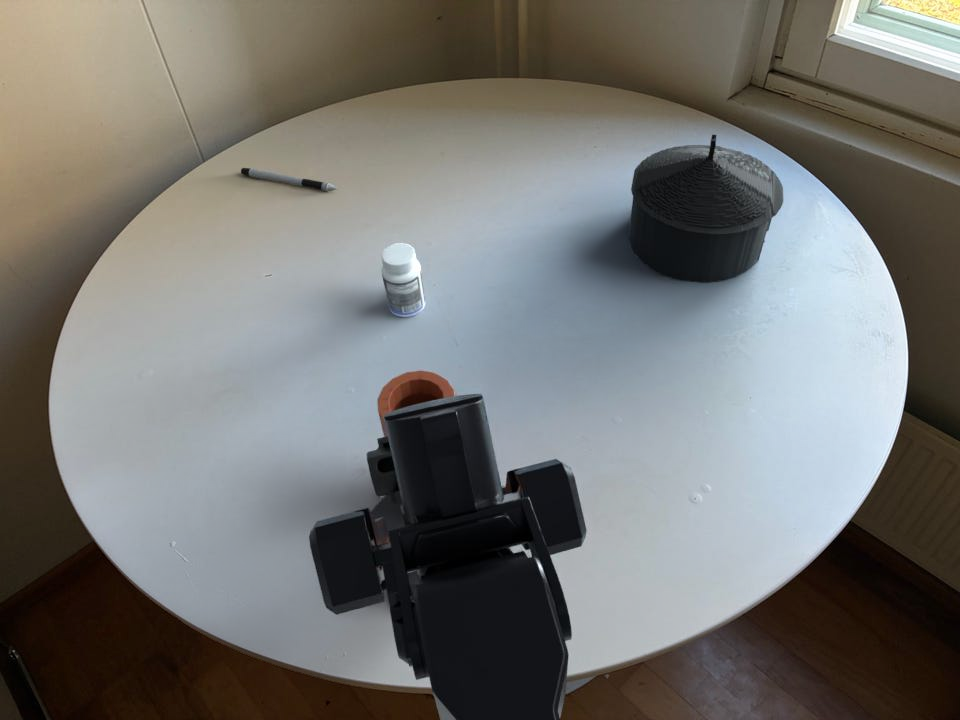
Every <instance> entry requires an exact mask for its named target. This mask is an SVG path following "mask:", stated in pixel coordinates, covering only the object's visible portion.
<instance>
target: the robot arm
mask: <svg viewBox="0 0 960 720" xmlns="http://www.w3.org/2000/svg"><path fill="white" fill-rule="evenodd" d="M384 421H385V426H386V430H387V435H388V436H385V437H384V436H382V437H378V438H376V440H377V444H378V447H377V448H376V449H374V450H369V451H367V452H366V454H365V455H366V462H367V466H368V467H367V468H368V470H369V475H370V480H371V483H372V487H373V490H374V493H375V496H376V497H378V498H380V497H385V496H386V495H389V496H390V497H391V500H392V504H393V505H396V504H400V503H401V504H402V505H400V506H401V511H402V515H403V519H404V523H405V526H402V527H398V528H394V529H390V530H388V531H387V526H386V522H385V518H384V517H381V518H378V519H375V520H374V518H373V516H372V514H371V510H370V508H369V507H365V508H362V509H358V510H354V511H350V512H346V513H342V514H339V515H335V516H331V517H327V518H323V519H321V520H316V521H315V522H314V525H313V526H312V528H311V529H310V532H309V536H308V539H309V540H308V542H309V547H310V551H311V556H312V560H313V563H314V568H315V572H316V576H317V580H318V585H319V588H320V592H321V596H322V600H323V604H324V606H325V608H326V609H327V610H328V611H329V612H332V613H333V614H334V615H336V616H337V615H341V614H344V613H348V612H352V611H356V610H359V609H363V608H367V607H371V606H374V605H378V604H380V603H384V602H385V595H384V590H386V595H387V600H388V608H389V613H390V614H389V615H390V619H391V625H392V630H393V636H394V637H393V638H394V643H395V647H396V653H397V656H398V659H400V660H401V661H403V662H404V663H405V664H408V666H409V667H410V668H411V667H412V670H413V674H414V678H415V680H416V681H418V680H422V679H426V678H429V682H430V688H431V691H432V694H433V698H434V702H435V706H436V709H437V712H438V716H439V720H561V716H562V711H563V707H564V702H565V698H566V695H567V694H566V693H567V680H568V668H569V667H568V666H569V650H568V646H567V641H571V640H572V636H573V633H572V631H573V630H572V624H571V618H570V613H569V609H568V604H567V600H566V597H565V594H564V591H563V587H562V584H561V582H560V578H559V576H558V573H557V569H556V568H555V564H554V562H553V560H552V559H553V558H552V555H556V554H560V553H563V552H567V551H570V550H573V549H577V548H580V547H582V546H583V544H584V541H585V540H586V537H587V531H588V530H587V526H586V520H585V517H584V512H583V509H582V504H581V499H580V495H579V490H578V487H577V486H578V485H577V481H576V477H575V475H574V472H573V470H572V467H570V466H569V465H567V464H565V463H564V462H562V461H561V460H559V459H557V458H553V459H550V460H546V461H542V462H539V463H534V464H530V465H527V466H523V467H519V468H515V469H511V470H508V471H507V472H506V479H505V485H502V481H501V477H500V472H499V466H498V462H497V458H496V457H497V456H496V453H495V448H494V443H493V438H492V433H491V428H490V422H489V418H488V413H487V408H486V403H485V400H484V395H483V394H482V393H469V394H462V395H461V394H460V395H455V396H454V397H448V398H442V399H437V400H432V401H428V402H424V403H419V404H415V405H411V406H408V407H404V408H401V409H397V410H394V411H392V412H389V413H387V414H385V415H384ZM388 533H389V536H388ZM389 538H390V542H389ZM520 545H521V547H522V548H523V549H524V550H525V551H530V555H531V556H529V557H528V555H527V553H526V552H525V551H524V550H521V551H516V552H513V550H512V547H516V546H520ZM415 571H417V575H418V580H419V585H416V586H415V588H414V590H413V595H414V601H413V598H412V593H411V588H410V583H409V578H408V573H411V572H415Z"/></svg>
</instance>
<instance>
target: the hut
mask: <svg viewBox="0 0 960 720" xmlns="http://www.w3.org/2000/svg"><path fill="white" fill-rule="evenodd" d="M716 143H717V134H711V138H710V143H709V145H708V144H706V145H705V144H687V145H679V146H673V147H669V148H666V149H662V150H659V151H656V152H654V153H652V154H650V155H649V156H647V157H646V158H645V159H643V160H642V161H641V162H640V163H639V164H638V165H637V166H636V167H635V169H634V172H633V177H632V182H631V189H630V191H631V195H632V203H631V210H630V211H631V212H630V222H629V230H628V243H629V245H630V248H631V251H632V252H633V254H634V255H635V256H636V258H637V259H638V260H639V261H640V262H642V263H643V264H644V265H645V266H646V267H647V268H649V269H650V270H652V271H655V272H656V273H657V274H659V275H662V276H665V277H668V278H670V279H673V280H678V281H680V282H681V281H682V282H692V283H702V284H703V283H704V284H705V283H717V282H723V281H728V280H730V279H734V278H736V277H738V276H740V275H742V274H744V273H746V272H748V271H749V270H750V269H751V268H752V267H754V266H755V264H756V263H757V261H759V260H760V257H761V253H762V250H763V248H764V247H763V246H764V243H765V242H766V241H765V240H766V237H767V232H768V231H769V230H770V227H771V223H772V219H773V218H774V217H776V215H778V213H779V211H780V210H781V208H782V206H783V204H784V187H783V184H782V182H781V180H780V178H779V177H778V176H777V174H776V172H775V171H774V170H772V169H771V168H770V166H768V165H767V164H766V163H764V162H763V161H762V160H760V159H758V158H757V157H755V156H752V155H751V154H749V153H744V152H742V151H740V150H735V149H731V148H726V147H723V146H720V145H717V144H716Z"/></svg>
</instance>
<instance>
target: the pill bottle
mask: <svg viewBox="0 0 960 720" xmlns="http://www.w3.org/2000/svg"><path fill="white" fill-rule="evenodd" d="M381 262H382V266H381V277H382V281H383V286H384V291H385V292H384V293H385V296H386V300H387V307H388V310H389V311H390V312H391V313H392V314H393V315H394V316H398V317H401V318H410V317H414V316H416V315H418V314H420V313H421V312H422V311H423V310H424V308H425V307H426V304H427V303H426V302H427V301H426V293H425V285H424V279H423V274H422V273H423V272H422V266H421V263H420V262H419V260H418V259H417V254H416V250H415V248H414V247H413V246H412V245H410V244H408V243H405V242H404V243H403V242H396V243H391V244H390V245H388V246H386V247H384V249H383V250H382V252H381Z"/></svg>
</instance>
